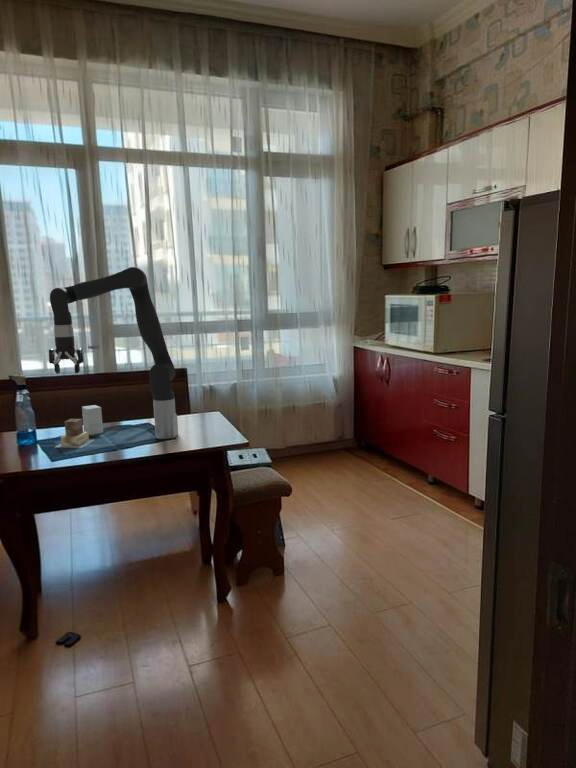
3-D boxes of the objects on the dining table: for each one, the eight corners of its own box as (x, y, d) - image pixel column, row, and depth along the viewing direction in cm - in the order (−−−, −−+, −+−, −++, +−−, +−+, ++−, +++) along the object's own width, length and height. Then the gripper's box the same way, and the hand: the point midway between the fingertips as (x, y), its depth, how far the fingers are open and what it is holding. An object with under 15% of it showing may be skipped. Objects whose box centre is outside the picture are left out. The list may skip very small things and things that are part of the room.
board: (95, 442, 223) (95, 439, 223) (82, 450, 211) (81, 447, 211) (69, 441, 224) (69, 439, 224) (54, 450, 212) (54, 447, 212)
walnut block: (83, 432, 219) (81, 418, 218) (77, 435, 214) (75, 421, 213) (72, 432, 219) (70, 418, 218) (65, 435, 215) (64, 421, 214)
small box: (103, 435, 234) (101, 407, 232) (89, 437, 230) (87, 409, 228) (97, 431, 240) (95, 404, 238) (83, 434, 237) (81, 406, 234)
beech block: (89, 440, 221) (88, 431, 220) (79, 446, 213) (78, 436, 212) (71, 440, 222) (70, 431, 221) (61, 445, 214) (60, 436, 213)
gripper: (84, 334, 222) (87, 371, 225) (53, 335, 223) (56, 371, 226) (75, 336, 215) (79, 374, 217) (43, 336, 216) (47, 374, 219)
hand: (67, 373), depth 222 cm, fingers open, 8 cm apart
